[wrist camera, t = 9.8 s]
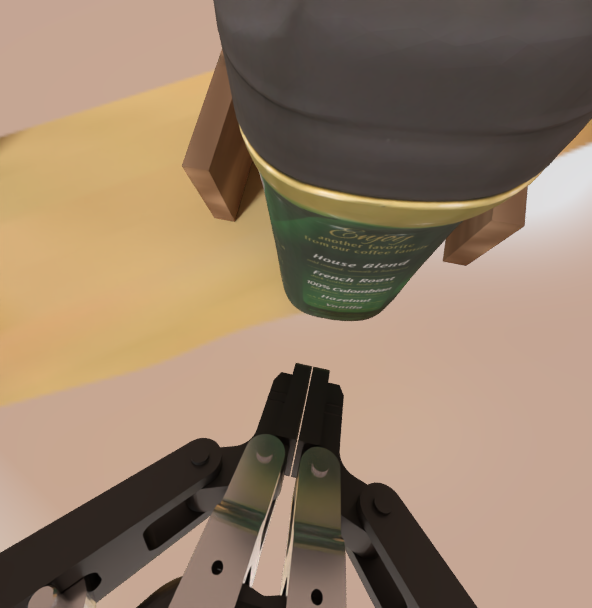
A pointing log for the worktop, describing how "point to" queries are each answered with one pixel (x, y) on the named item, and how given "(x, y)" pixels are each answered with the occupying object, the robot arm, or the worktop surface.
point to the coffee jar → (396, 126)
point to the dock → (237, 161)
